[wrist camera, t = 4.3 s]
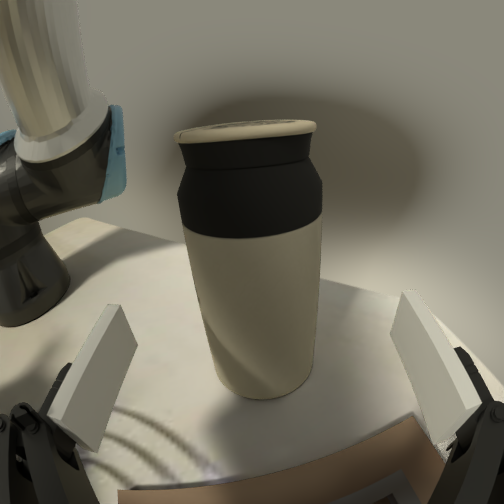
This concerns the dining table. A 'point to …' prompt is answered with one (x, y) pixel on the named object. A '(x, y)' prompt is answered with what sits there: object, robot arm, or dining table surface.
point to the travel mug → (254, 249)
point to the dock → (330, 477)
